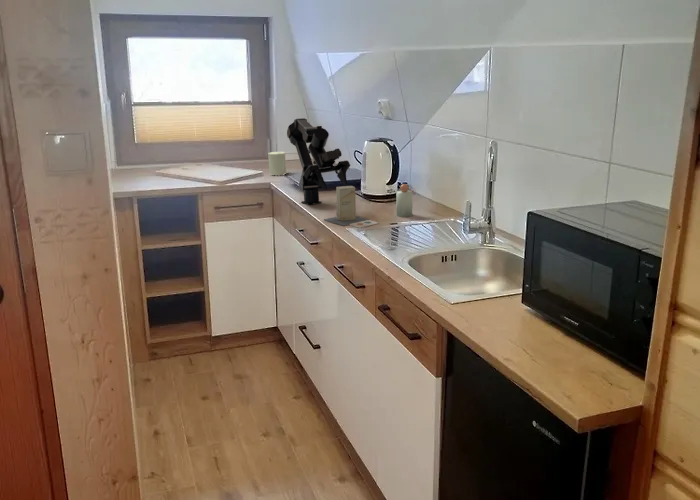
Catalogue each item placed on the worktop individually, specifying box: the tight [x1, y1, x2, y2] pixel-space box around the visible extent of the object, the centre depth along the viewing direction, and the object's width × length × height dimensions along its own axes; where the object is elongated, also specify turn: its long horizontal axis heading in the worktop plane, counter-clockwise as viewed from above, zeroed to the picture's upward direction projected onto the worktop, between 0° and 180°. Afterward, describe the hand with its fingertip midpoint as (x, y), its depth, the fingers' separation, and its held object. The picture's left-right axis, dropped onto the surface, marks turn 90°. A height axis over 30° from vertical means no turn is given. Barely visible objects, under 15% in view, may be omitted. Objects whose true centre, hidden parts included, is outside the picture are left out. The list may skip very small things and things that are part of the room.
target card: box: [348, 219, 380, 229], centre depth 226 cm, size 6×9×1 cm, turn 128°
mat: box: [323, 215, 370, 227], centre depth 232 cm, size 12×12×1 cm
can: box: [267, 151, 287, 176], centre depth 331 cm, size 9×9×12 cm
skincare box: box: [335, 185, 357, 221], centre depth 231 cm, size 6×4×12 cm
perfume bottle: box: [395, 183, 413, 218], centre depth 236 cm, size 6×6×12 cm
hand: (336, 187), depth 240 cm, fingers open, 9 cm apart
